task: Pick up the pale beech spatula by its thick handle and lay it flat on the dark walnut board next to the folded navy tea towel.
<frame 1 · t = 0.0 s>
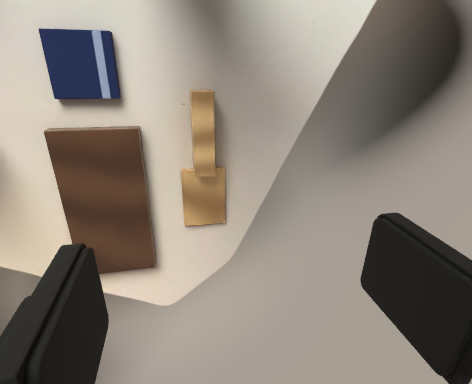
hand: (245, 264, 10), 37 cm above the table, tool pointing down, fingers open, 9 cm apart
navy tea towel: (84, 65, 38), on the table
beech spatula: (202, 162, 46), on the table
walnut board: (109, 203, 46), on the table
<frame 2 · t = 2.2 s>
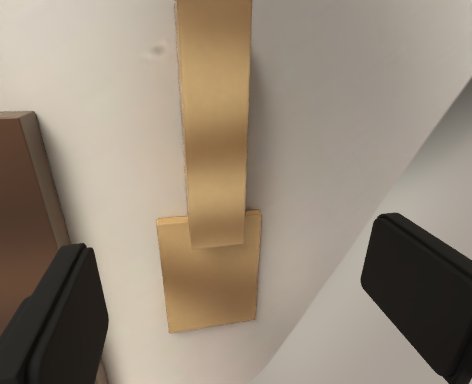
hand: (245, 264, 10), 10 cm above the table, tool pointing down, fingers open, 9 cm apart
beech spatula: (209, 200, 19), on the table
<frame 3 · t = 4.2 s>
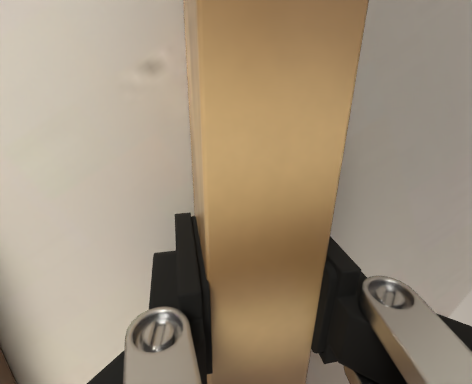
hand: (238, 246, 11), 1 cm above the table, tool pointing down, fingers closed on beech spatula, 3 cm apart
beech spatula: (234, 297, 12), on the table, touching gripper
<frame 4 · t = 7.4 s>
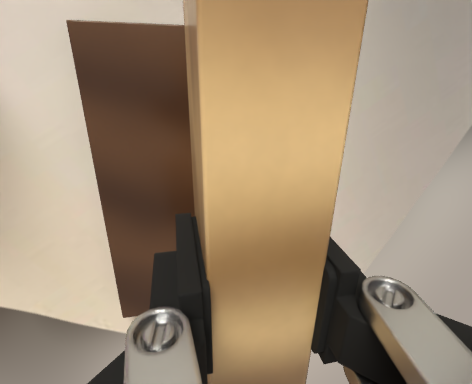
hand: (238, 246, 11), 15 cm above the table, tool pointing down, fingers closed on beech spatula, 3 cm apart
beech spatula: (234, 297, 12), point 14 cm above the table, touching gripper
walnut board: (180, 187, 25), on the table
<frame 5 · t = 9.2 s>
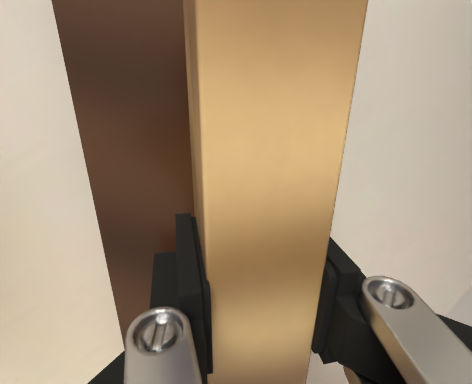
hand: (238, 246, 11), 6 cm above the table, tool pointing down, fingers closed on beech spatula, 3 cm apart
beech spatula: (234, 298, 12), point 6 cm above the table, touching gripper
walnut board: (216, 225, 17), on the table
when the fingers open (2 cm above the table, at t = 10.5 s): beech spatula stays where it is, resting on walnut board.
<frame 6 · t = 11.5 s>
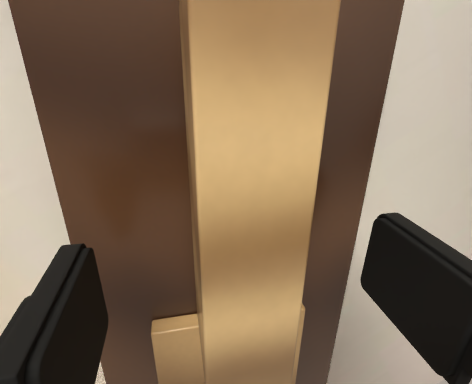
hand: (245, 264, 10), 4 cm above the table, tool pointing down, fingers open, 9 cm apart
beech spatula: (229, 290, 13), point 2 cm above the table, touching walnut board
walnut board: (223, 263, 15), on the table
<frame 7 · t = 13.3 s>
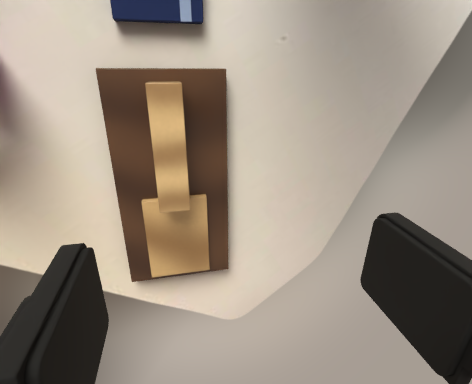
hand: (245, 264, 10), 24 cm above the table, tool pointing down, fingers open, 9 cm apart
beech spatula: (173, 188, 32), point 2 cm above the table, touching walnut board
walnut board: (173, 181, 33), on the table
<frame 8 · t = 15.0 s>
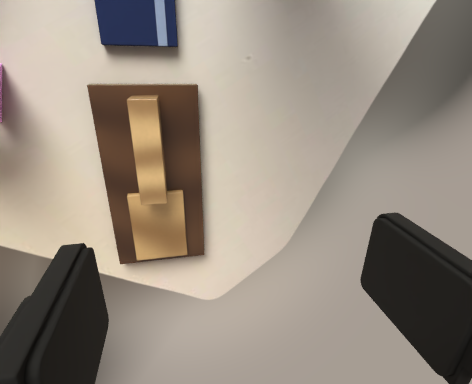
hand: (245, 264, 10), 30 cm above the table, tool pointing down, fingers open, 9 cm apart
navy tea towel: (136, 4, 31), on the table
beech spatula: (154, 184, 37), point 2 cm above the table, touching walnut board
walnut board: (155, 178, 39), on the table
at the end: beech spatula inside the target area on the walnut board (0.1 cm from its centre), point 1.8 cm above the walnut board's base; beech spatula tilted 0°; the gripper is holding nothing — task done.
